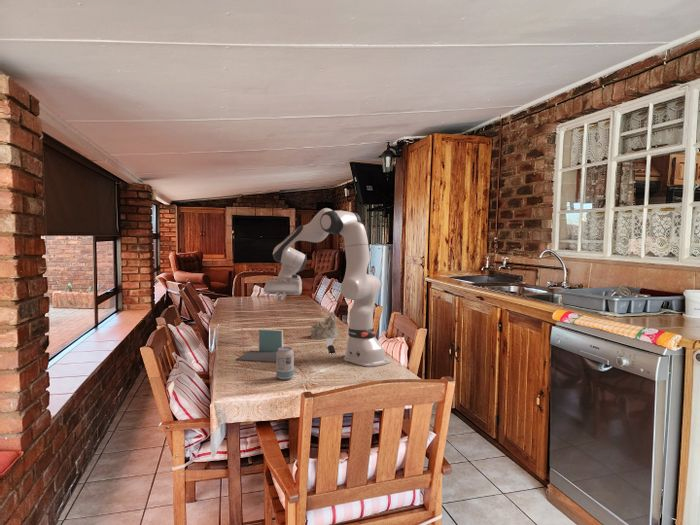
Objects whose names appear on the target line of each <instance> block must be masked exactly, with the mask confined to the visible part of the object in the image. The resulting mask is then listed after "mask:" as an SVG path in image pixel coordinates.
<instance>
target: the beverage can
mask: <svg viewBox="0 0 700 525" xmlns="http://www.w3.org/2000/svg"><path fill="white" fill-rule="evenodd" d="M294 358H295V356H294V350H293V348H292V347H289V346H285V347H284V346H283V347H281V348H278V351H277V353H276V363H275V366H276V368H275V369H276V371H275V372H276V378H277V379H279V380H281V381H288V380H289V381H290V380H291V379H292V378H293V377H294V376H295V372H294V371H295V366H294V365H295V364H294V363H295V362H294V361H295V359H294Z"/></svg>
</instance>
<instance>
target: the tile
mask: <svg viewBox="0 0 700 525" xmlns="http://www.w3.org/2000/svg"><path fill="white" fill-rule="evenodd" d="M281 347H284V329H273V328H272V329H271V328H270V329H269V328H259V329H258V351H270V352H277V351H278V348H281Z"/></svg>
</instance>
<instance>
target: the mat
mask: <svg viewBox="0 0 700 525" xmlns="http://www.w3.org/2000/svg"><path fill="white" fill-rule="evenodd" d="M276 353H277V352H270V351H259V350H253V349H252V350H249V351H247V352H245V353H243V354H242V355H241V356H239V357H237V358H235V361H237V360H242V361H241V362H253V361H260V362H259V363H269V362H274V363H273V364H276Z"/></svg>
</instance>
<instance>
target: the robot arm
mask: <svg viewBox="0 0 700 525" xmlns="http://www.w3.org/2000/svg"><path fill="white" fill-rule="evenodd" d="M329 234H332V235H335V236H336V235H337V236H338V235H339V234H340V235H341V236H342V237H343V240H344V250H345V260H346V268H345V275H344V277H343V281H342V282H341V284H340V293H341V295H342V296H343V298H345V299H347V300H351V301H353V303H352V306H351V308H350V310H349V317H348V319H349V320H348V321H349V323H348V324H349V326H348V330H347V334H348V340H347V341H346V346H345V347H346V348H345V356H344V357H343V361H345V362H348V361H349V363H352V364H356V365H358V366H359V365H360V366H362V367H369V368H370V367H372V368H373V367H378V366H384V365H388V364H390V363H391V359H389V358H387V357H386V355H385V354H386V353H385V349H384V346H383V345H381V343H380V342H379V339H377V338H376V335H377V331H375V329H374V310H375V309H374V308H375V304H376V300H377V296H378V294H379V292H380V291H381V286H382V283H381V280H380V279H379V277H377V275H374V274H369V273H367V272H368V267H369V264H370V262H371V256H370V247H369V238H368V236H367V231H366V227H365V225H364V224H363V223H362V219H361V217H360V215H359V214H358V213H357V212H354V211H347V210H333V209H331V208H328V207H325V208H322V209H320V210H319V211H318V212H317V213H316V214H315V215H314V217H313V218H312V219H311V220H310V221H309V222H308V223H307V224H304V225H299V226H298V227H296V228H295V229H294V230H293V231H292V232H290V234H288V235H287V236H286V237H285V238H284V239H283V240H282V241H281V242H279V243H278V244H276V246H275V247H274V248H273V252H272V257H273V260H274V261H275V262H278V263H281V267H280V270H279V273H278V274H277V278H269V279H267V280H266V281H265V284H264V286H263V292H264V294H265V295H276V301H278V302H279V301H280V302H282V301H284V299H285V298H286V297H287V296H300V295H301V294H302V290H303V286H302V284H303V283H302V282H303V281H302V278H301V276H300V275H298V274H297V273H300V272H302V271H303V270H305V267H306V264H307V261H308V258H307V256H306V254H304V253H303V252H301V251H299V250H297V249H295V248H292V246H293V244H295V243H296V242H299V241H305V242H310V243H321V242H323V241H324V240H325V239H326V238H327V237H328V236H329ZM280 295H281V296H280Z"/></svg>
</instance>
